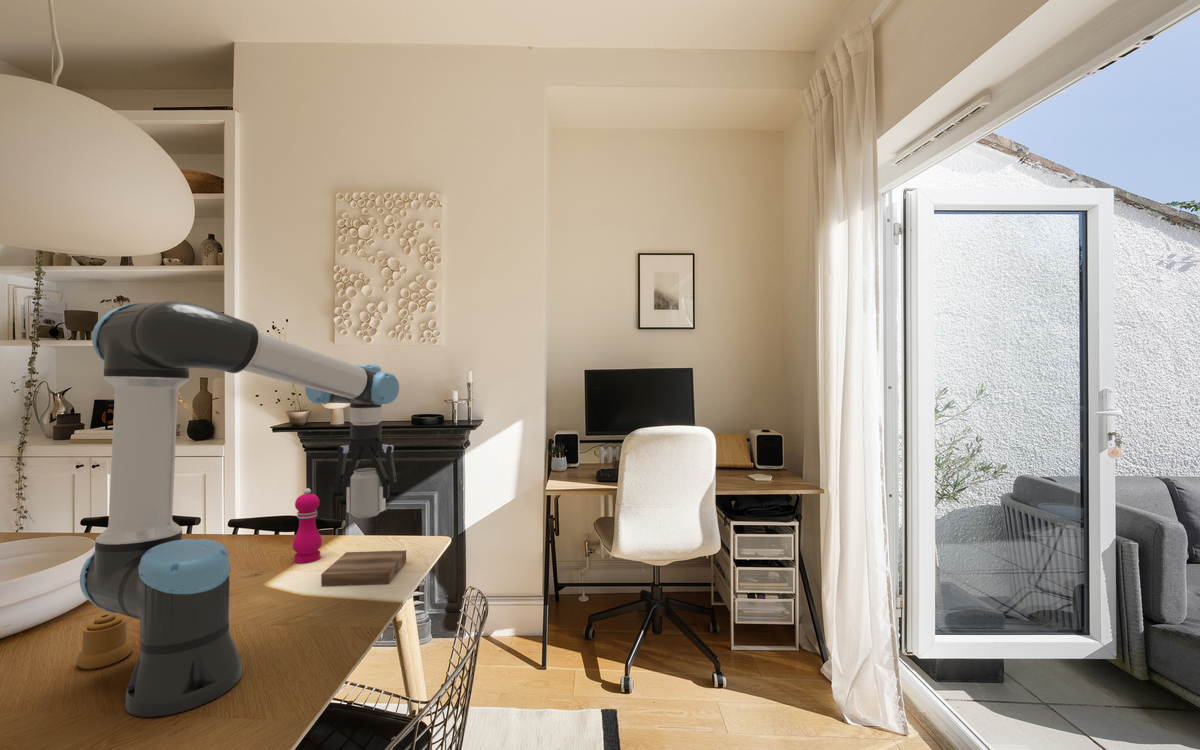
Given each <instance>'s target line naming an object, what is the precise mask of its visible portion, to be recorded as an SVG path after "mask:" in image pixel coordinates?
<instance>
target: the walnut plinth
mask: <svg viewBox="0 0 1200 750" xmlns="http://www.w3.org/2000/svg"><path fill="white" fill-rule="evenodd" d="M405 561H406V562H407V550H406V549H405V550H376V551H371V550H370V551H347V552H345V553H344V554H342V555H341V556H340V557H339V558H337V560H336V561H335V562H334V563H332V564H331V565H329V567H328V568H327V569H325V570H324V571H323V572H322V573H321V574H320V577H321V578H320V579H321V580H320V582H321V583H320V584H321V587H336V586H340V587H341V586H366V585H367V586H368V585H371V586H373V585H389V584H390V583H391V581H393V579H394V578H395V576H396V575H397V574H398V572H399V571H400V570H401V569H402V567H403V566H404V565H405V563H406V562H405Z"/></svg>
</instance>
